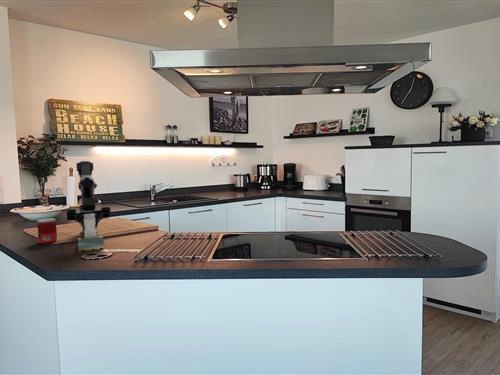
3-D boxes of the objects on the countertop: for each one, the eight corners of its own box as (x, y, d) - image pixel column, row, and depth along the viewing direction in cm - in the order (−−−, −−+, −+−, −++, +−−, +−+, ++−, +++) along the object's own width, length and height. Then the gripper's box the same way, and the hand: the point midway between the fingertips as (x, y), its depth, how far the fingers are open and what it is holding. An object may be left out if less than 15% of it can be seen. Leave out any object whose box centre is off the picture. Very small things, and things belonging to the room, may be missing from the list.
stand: (78, 245, 174) (77, 234, 174) (102, 243, 179) (101, 232, 178) (78, 251, 165) (78, 239, 164) (103, 248, 169) (103, 237, 168)
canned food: (60, 240, 183) (59, 218, 182) (45, 244, 176) (44, 221, 175) (50, 239, 186) (48, 217, 185) (35, 243, 179) (33, 220, 178)
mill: (82, 242, 169) (81, 214, 168) (89, 240, 174) (88, 212, 172) (91, 243, 168) (90, 215, 167) (98, 240, 173) (97, 213, 171)
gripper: (65, 191, 168) (66, 220, 159) (109, 189, 176) (112, 216, 167) (66, 206, 176) (67, 234, 167) (108, 203, 184) (111, 230, 175)
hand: (90, 228), depth 169 cm, fingers closed on mill, 5 cm apart
